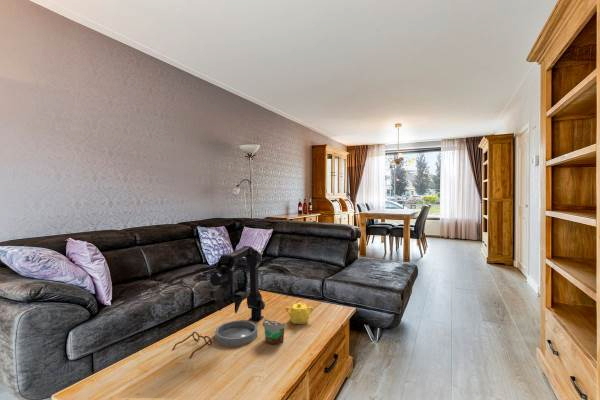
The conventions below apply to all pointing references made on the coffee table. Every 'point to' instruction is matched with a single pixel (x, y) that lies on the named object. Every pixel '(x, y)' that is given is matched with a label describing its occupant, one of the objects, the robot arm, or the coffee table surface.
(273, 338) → the food container
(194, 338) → the glasses
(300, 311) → the teapot
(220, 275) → the robot arm
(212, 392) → the coffee table surface
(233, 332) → the bowl
